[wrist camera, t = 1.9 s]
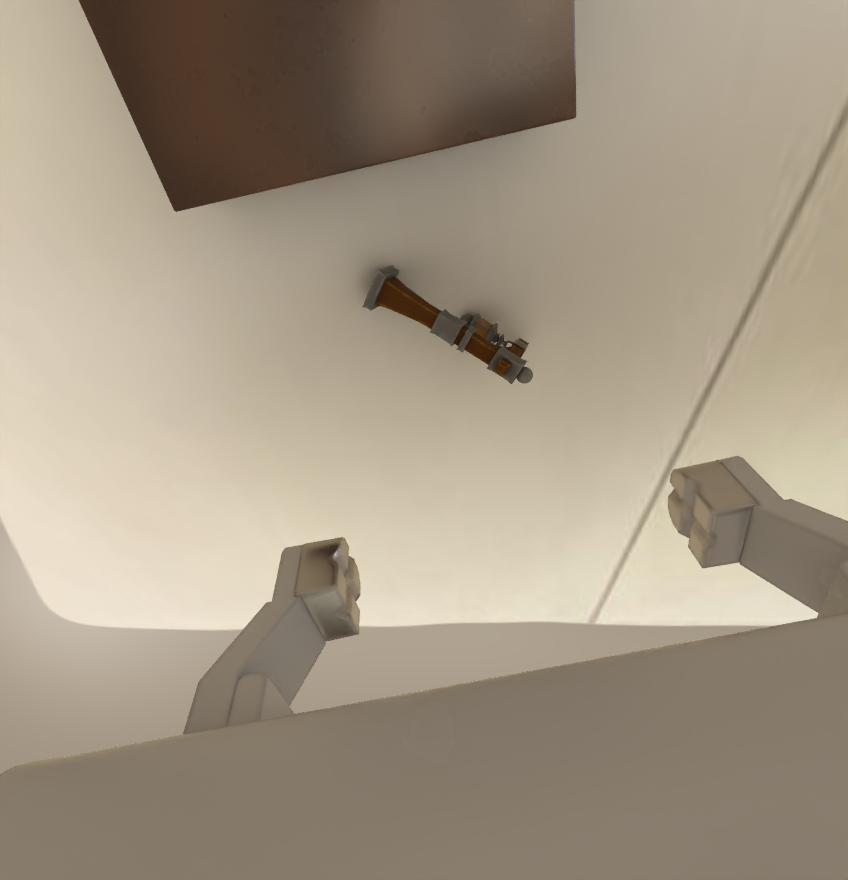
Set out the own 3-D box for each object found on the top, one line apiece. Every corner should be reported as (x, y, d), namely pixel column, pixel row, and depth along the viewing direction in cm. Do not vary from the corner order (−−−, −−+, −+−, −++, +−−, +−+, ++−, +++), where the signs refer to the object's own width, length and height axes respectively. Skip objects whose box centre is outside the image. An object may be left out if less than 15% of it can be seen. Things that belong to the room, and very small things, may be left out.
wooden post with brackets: (530, 372, 26) (518, 402, 22) (396, 292, 26) (360, 308, 22) (550, 342, 25) (540, 367, 21) (410, 260, 25) (375, 270, 21)
